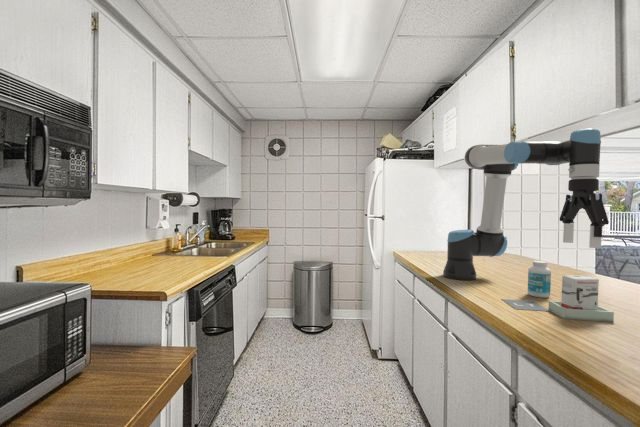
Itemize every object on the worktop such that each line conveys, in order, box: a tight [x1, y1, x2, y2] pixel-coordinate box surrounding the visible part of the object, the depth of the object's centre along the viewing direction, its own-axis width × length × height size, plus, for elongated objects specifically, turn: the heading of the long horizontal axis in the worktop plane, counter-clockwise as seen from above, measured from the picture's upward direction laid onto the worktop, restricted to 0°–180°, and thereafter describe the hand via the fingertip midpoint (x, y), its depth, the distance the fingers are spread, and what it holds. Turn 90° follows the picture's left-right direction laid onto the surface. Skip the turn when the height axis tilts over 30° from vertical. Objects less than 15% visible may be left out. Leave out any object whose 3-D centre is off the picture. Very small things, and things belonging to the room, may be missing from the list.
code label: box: [501, 298, 551, 312], centre depth 115 cm, size 12×11×1 cm
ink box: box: [561, 274, 600, 311], centre depth 104 cm, size 9×5×12 cm, turn 95°
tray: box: [548, 300, 615, 323], centre depth 104 cm, size 9×13×3 cm
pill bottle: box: [527, 260, 552, 299], centre depth 128 cm, size 8×7×14 cm
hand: (580, 245), depth 104 cm, fingers open, 13 cm apart
